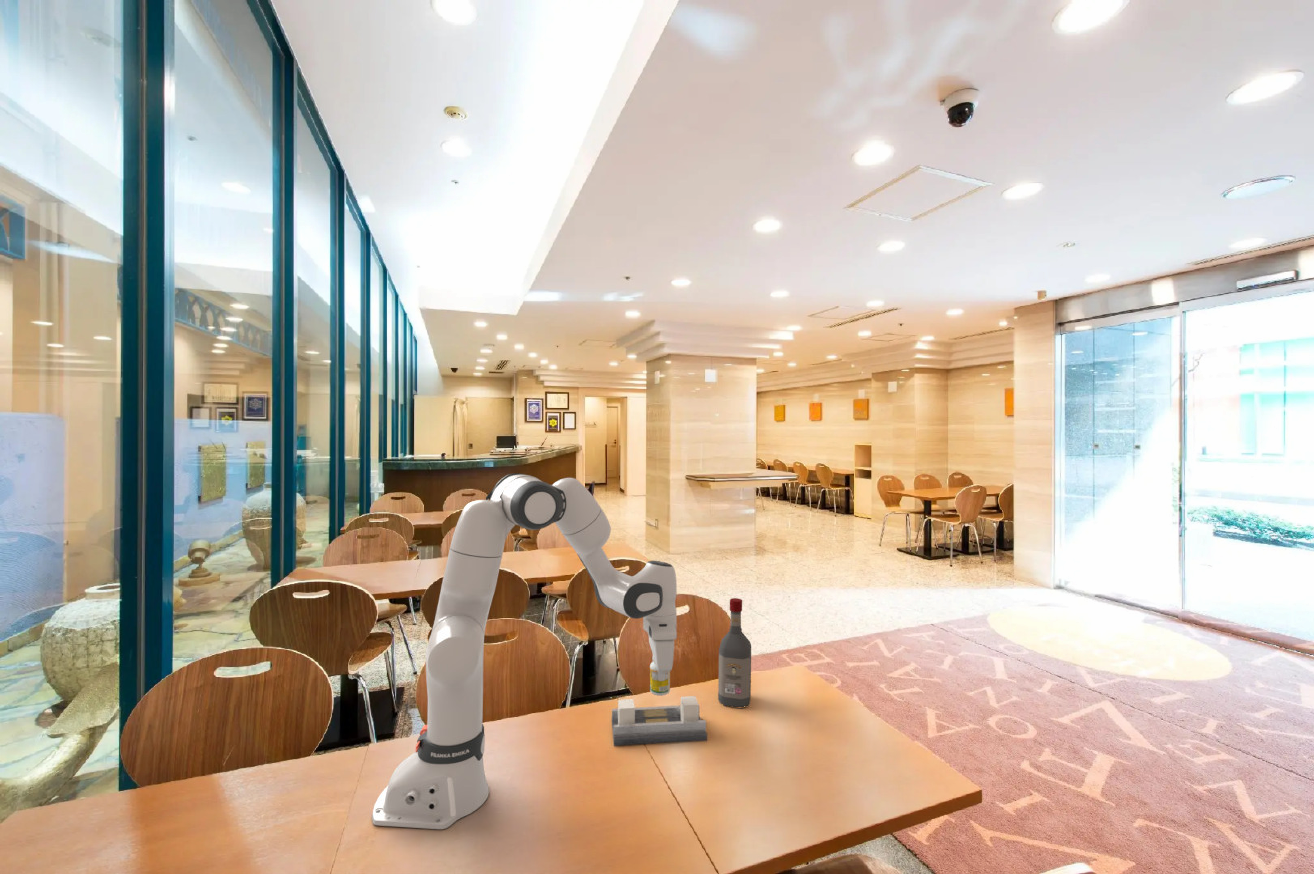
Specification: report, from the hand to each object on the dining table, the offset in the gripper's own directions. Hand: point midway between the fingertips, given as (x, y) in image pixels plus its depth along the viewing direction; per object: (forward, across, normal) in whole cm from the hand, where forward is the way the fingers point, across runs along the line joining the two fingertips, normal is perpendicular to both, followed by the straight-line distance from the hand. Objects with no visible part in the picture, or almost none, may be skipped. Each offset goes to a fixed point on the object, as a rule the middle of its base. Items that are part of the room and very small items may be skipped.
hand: (659, 673), depth 142 cm
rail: (+15, 0, 0) cm, 15 cm away
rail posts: (+13, 0, 0) cm, 13 cm away
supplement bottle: (+5, 0, 0) cm, 5 cm away
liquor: (+15, -14, +25) cm, 32 cm away
